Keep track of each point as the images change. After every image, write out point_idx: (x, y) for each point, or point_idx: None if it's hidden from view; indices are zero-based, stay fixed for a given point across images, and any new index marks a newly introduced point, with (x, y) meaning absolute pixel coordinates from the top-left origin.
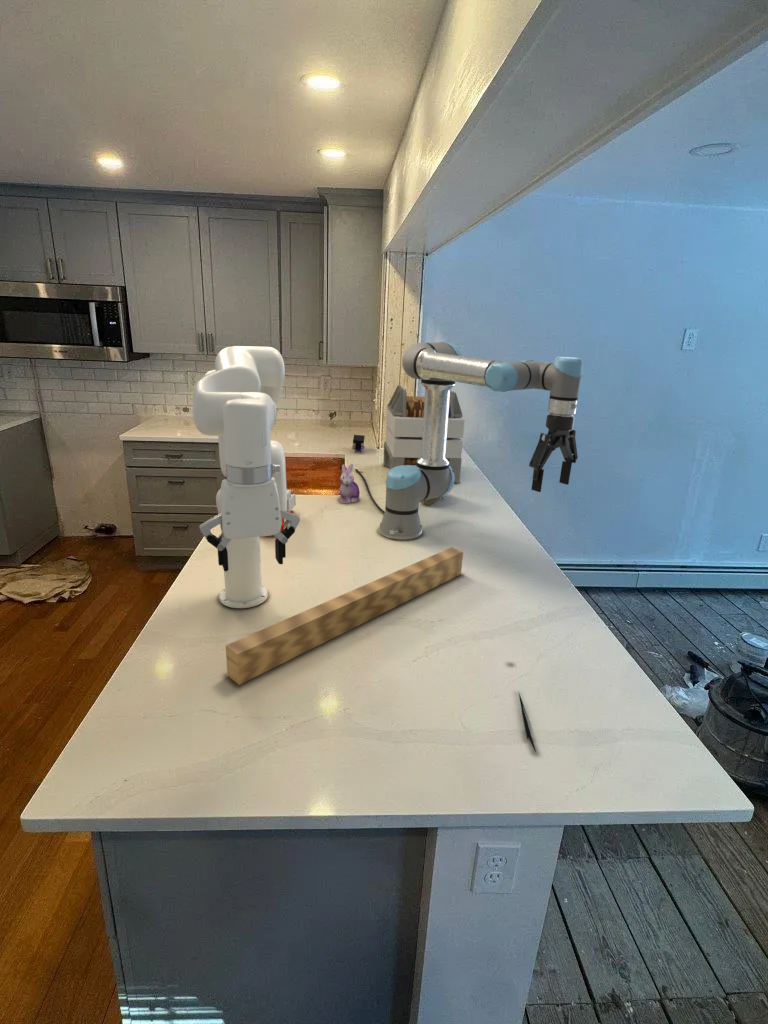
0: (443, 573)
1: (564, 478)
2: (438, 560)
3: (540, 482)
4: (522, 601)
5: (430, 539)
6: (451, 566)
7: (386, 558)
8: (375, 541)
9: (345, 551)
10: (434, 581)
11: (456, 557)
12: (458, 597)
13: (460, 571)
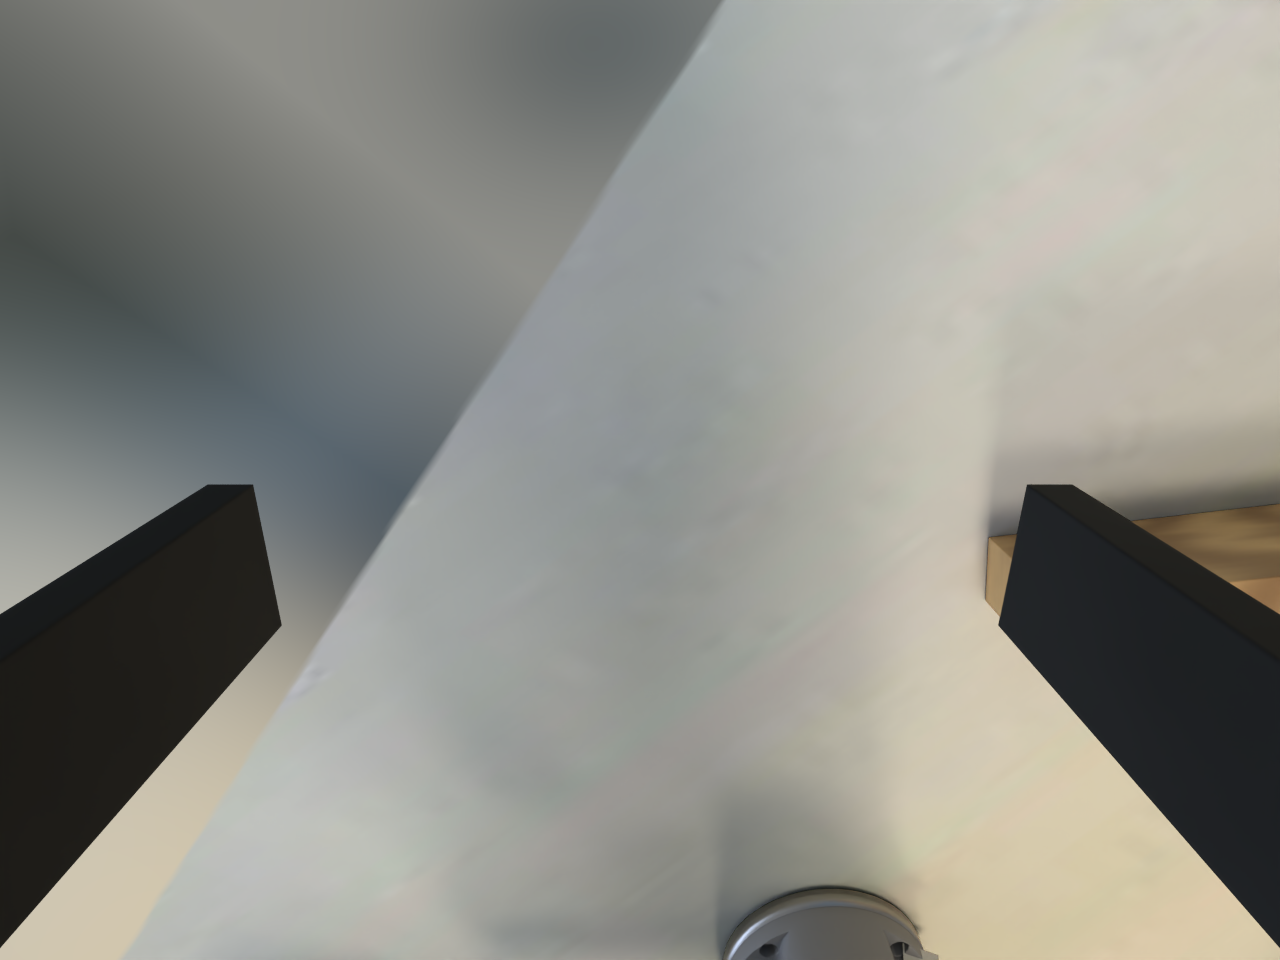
0: (1183, 543)
1: (213, 594)
2: (1271, 595)
3: (1196, 566)
4: (1024, 140)
5: (770, 854)
6: None
7: (1096, 815)
8: (985, 943)
9: (1162, 932)
10: (1241, 525)
11: None
12: (1221, 377)
13: (1005, 544)
